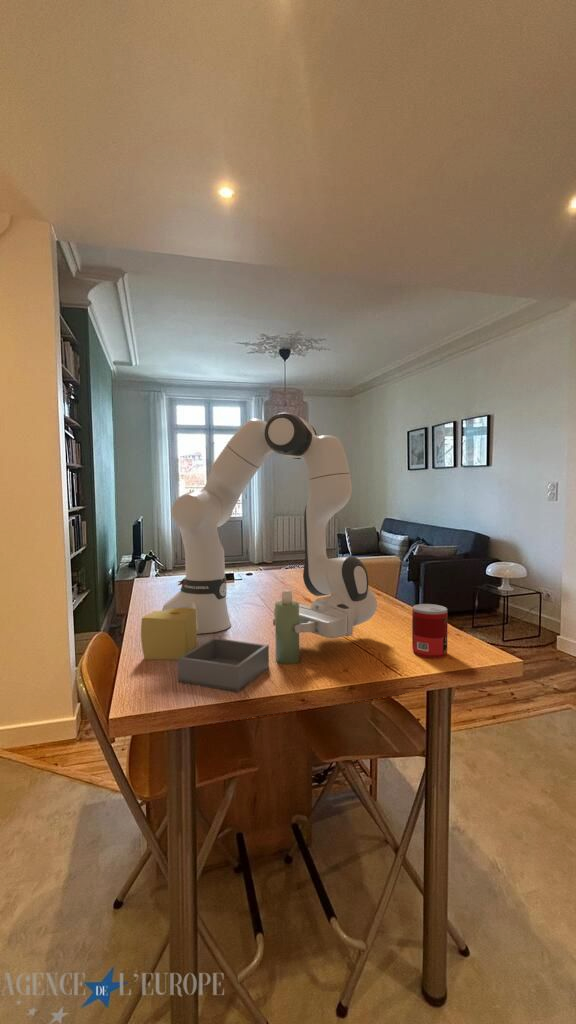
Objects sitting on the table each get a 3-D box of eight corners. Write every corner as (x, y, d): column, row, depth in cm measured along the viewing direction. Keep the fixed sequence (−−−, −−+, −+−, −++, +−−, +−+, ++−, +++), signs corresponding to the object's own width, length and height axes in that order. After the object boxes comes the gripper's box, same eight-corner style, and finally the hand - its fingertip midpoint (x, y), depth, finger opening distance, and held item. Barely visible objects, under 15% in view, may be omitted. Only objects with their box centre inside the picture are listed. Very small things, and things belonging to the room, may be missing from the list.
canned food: (452, 658, 109) (452, 611, 108) (417, 659, 109) (417, 611, 108) (441, 647, 117) (441, 603, 116) (408, 648, 117) (408, 603, 116)
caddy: (178, 681, 97) (177, 657, 97) (214, 659, 110) (213, 637, 110) (238, 692, 92) (238, 667, 92) (268, 667, 105) (268, 645, 104)
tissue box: (158, 645, 120) (157, 606, 120) (199, 646, 119) (198, 607, 119) (140, 660, 110) (139, 617, 110) (185, 661, 109) (184, 618, 108)
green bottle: (271, 661, 108) (271, 592, 107) (281, 654, 113) (280, 587, 112) (294, 665, 106) (293, 594, 105) (302, 656, 111) (302, 589, 110)
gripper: (298, 595, 125) (256, 604, 116) (357, 610, 110) (314, 621, 101) (298, 619, 126) (257, 629, 117) (357, 636, 110) (315, 650, 101)
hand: (284, 625), depth 109 cm, fingers closed on green bottle, 5 cm apart
